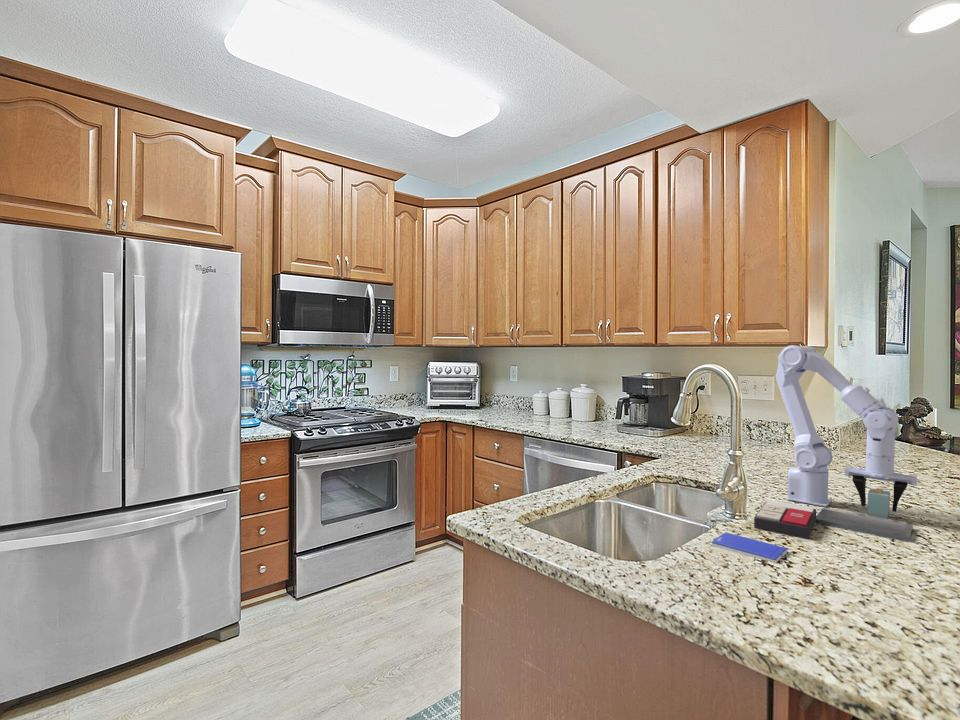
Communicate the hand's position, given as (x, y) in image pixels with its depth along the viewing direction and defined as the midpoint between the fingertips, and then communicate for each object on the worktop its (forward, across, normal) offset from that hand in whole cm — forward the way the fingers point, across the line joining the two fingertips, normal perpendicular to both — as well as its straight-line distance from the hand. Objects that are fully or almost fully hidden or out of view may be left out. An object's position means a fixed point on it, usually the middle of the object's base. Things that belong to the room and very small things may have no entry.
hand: (878, 508), depth 131 cm
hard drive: (+3, -18, -48) cm, 51 cm away
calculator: (+3, -16, -25) cm, 30 cm away
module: (+2, 0, 0) cm, 2 cm away
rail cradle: (+2, -2, -12) cm, 12 cm away
